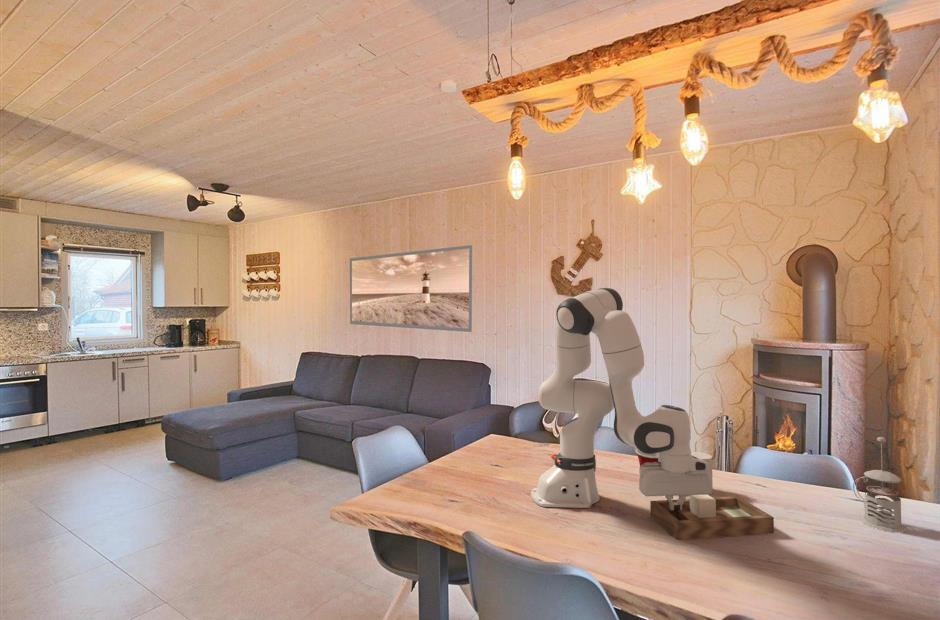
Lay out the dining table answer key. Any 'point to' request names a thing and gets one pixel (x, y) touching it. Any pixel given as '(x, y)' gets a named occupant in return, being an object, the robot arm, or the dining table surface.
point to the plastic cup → (646, 457)
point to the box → (713, 519)
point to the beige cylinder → (707, 459)
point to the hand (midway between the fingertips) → (675, 509)
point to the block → (703, 506)
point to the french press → (882, 501)
